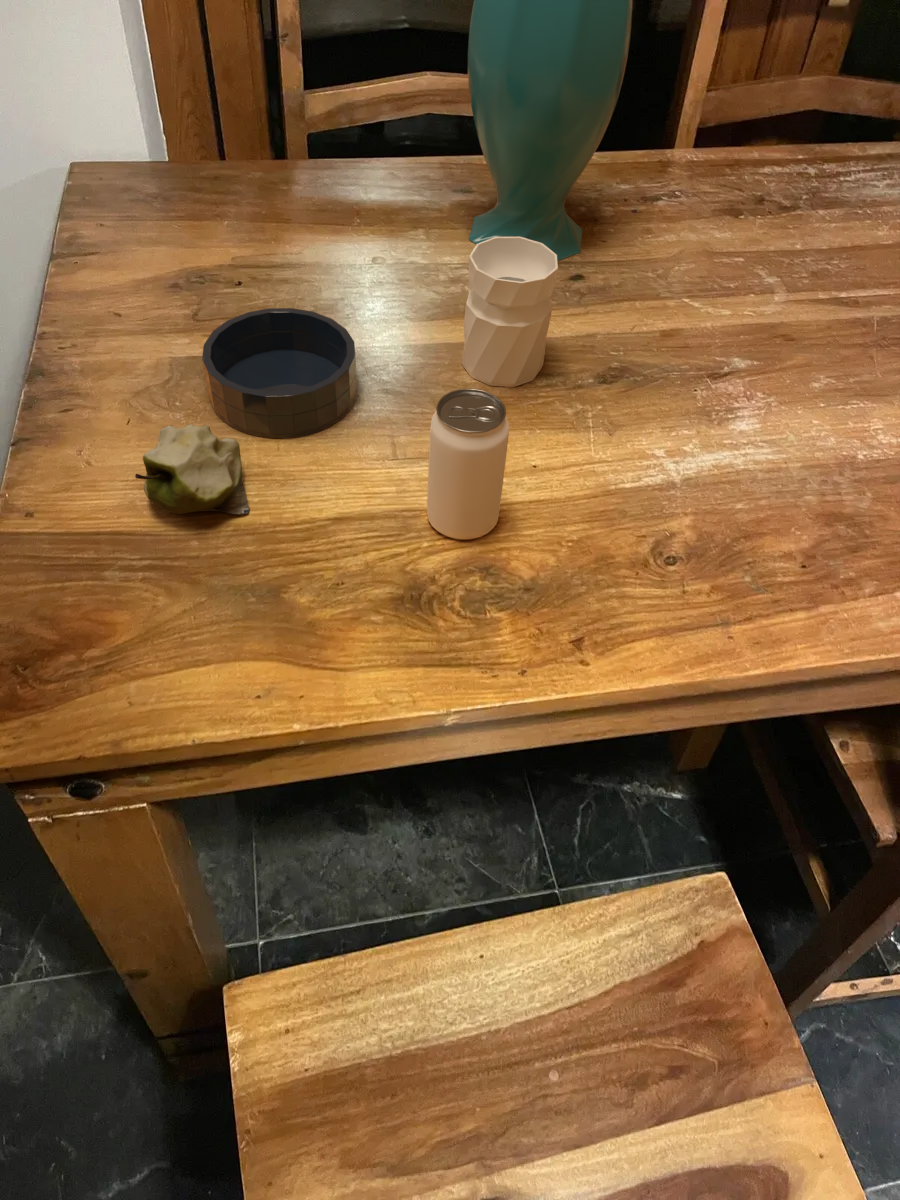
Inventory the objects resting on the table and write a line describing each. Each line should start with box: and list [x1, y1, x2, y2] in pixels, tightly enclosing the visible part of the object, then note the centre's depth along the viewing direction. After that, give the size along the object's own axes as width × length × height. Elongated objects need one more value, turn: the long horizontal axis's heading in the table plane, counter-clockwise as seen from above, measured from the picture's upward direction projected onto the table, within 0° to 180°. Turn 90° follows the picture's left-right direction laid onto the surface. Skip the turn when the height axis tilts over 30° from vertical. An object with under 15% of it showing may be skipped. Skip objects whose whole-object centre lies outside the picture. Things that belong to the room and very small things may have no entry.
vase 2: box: [461, 237, 559, 388], centre depth 95 cm, size 9×9×12 cm
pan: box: [201, 307, 357, 439], centre depth 93 cm, size 15×15×5 cm
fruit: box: [134, 423, 250, 516], centre depth 82 cm, size 9×9×8 cm
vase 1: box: [467, 0, 633, 262], centre depth 106 cm, size 17×17×30 cm
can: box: [426, 388, 510, 541], centre depth 79 cm, size 6×6×12 cm
